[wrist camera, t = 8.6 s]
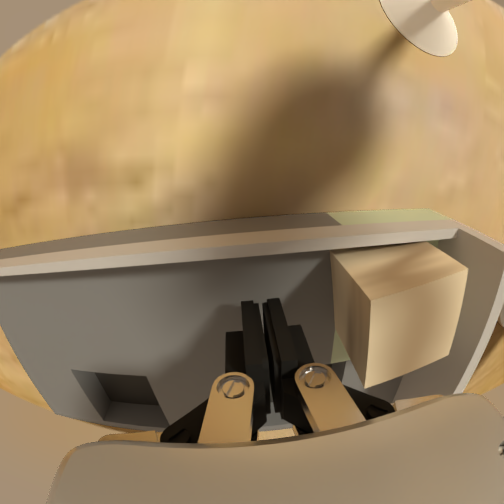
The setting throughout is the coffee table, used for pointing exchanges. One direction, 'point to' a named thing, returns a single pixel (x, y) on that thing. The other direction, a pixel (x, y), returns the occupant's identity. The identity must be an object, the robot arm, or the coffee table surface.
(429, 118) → the coffee table surface
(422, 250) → the birch block
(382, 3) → the champagne flute
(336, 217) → the tray
